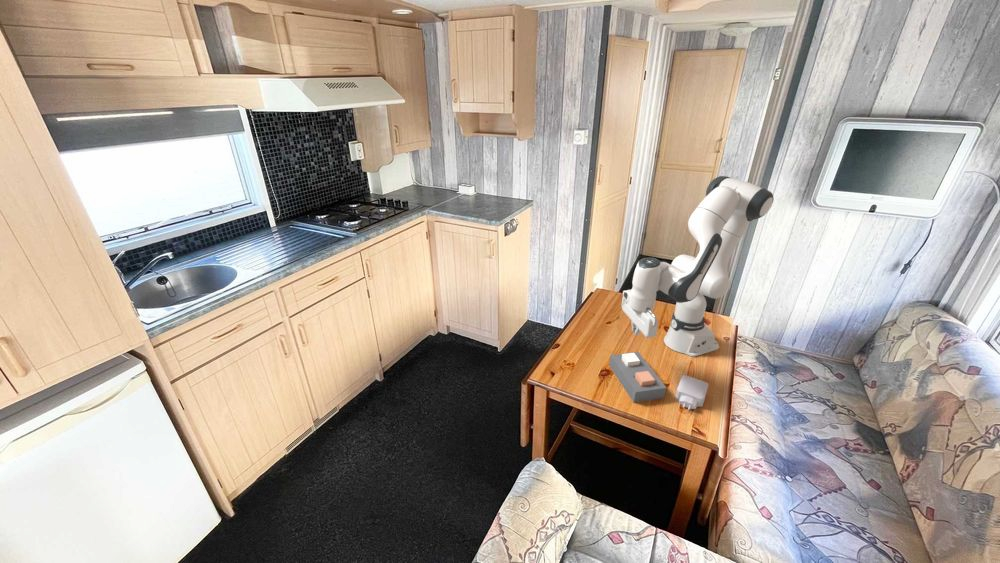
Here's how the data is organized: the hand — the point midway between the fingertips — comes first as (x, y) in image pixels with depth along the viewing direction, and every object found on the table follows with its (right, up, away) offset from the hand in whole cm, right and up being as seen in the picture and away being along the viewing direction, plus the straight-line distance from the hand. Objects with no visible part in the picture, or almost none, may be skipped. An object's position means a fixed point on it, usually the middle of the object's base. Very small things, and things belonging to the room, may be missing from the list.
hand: (635, 333), depth 151 cm
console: (+1, -19, +4) cm, 19 cm away
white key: (0, -13, +7) cm, 15 cm away
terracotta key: (+2, -18, -3) cm, 18 cm away
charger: (+18, -24, -5) cm, 30 cm away
